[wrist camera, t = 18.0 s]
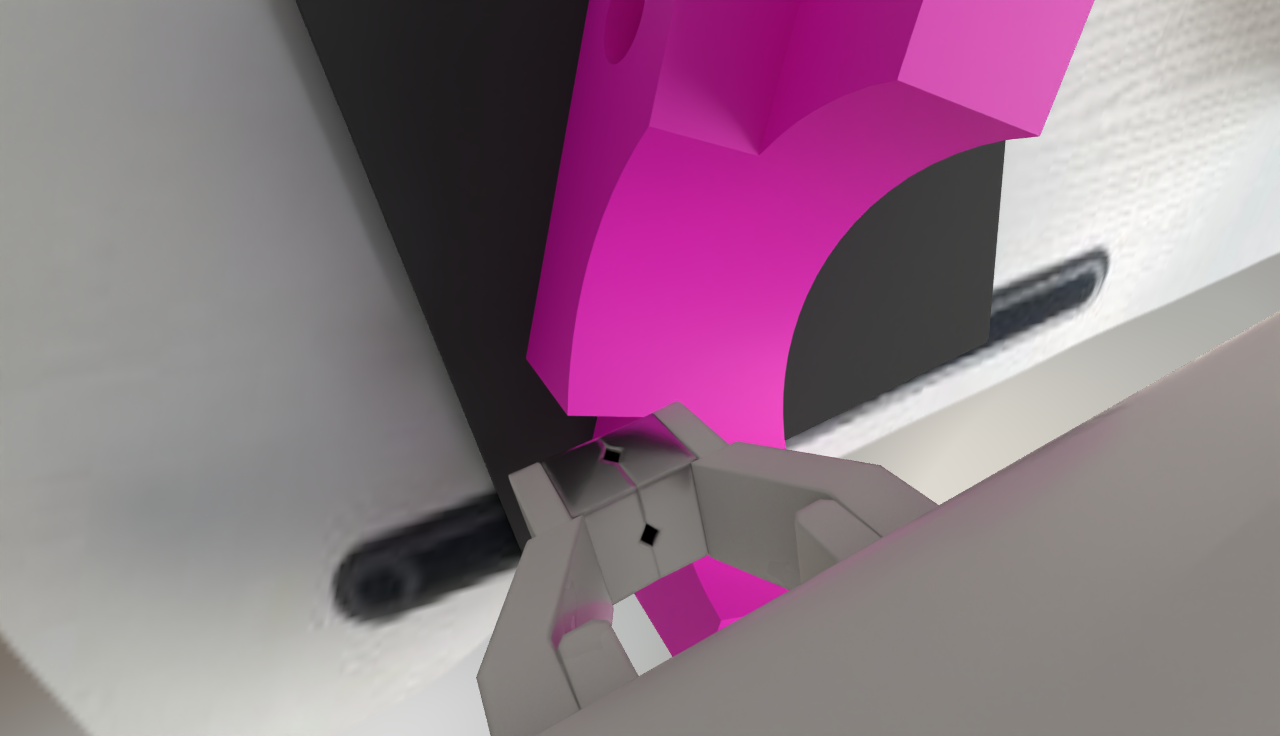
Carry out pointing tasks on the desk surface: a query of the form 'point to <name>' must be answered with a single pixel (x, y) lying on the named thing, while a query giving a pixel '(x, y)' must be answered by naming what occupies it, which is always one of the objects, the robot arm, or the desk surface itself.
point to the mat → (523, 200)
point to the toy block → (751, 199)
